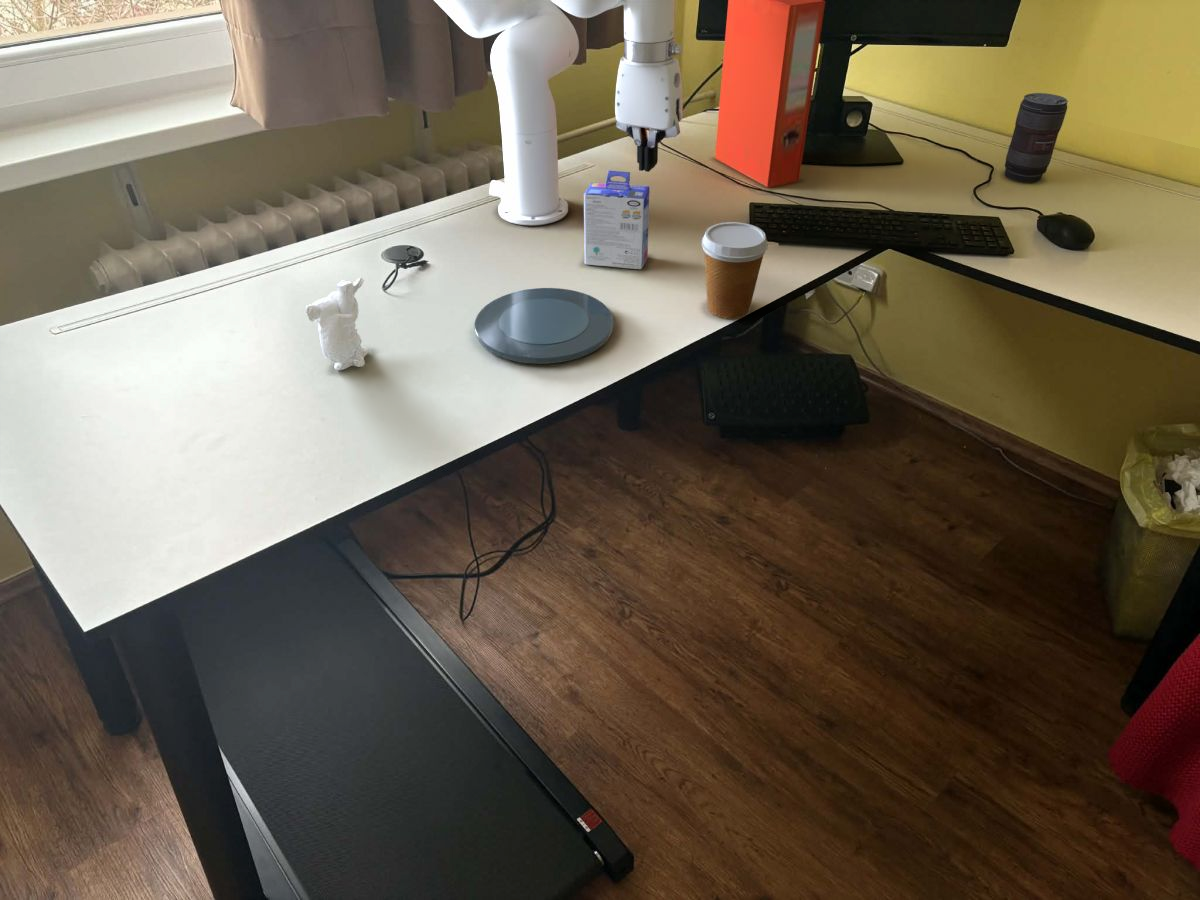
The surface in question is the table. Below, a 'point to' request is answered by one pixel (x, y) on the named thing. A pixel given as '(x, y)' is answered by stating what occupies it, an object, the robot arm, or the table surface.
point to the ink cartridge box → (616, 223)
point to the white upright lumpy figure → (339, 326)
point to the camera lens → (1034, 136)
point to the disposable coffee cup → (732, 267)
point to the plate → (543, 325)
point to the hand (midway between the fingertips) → (647, 168)
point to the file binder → (767, 86)
